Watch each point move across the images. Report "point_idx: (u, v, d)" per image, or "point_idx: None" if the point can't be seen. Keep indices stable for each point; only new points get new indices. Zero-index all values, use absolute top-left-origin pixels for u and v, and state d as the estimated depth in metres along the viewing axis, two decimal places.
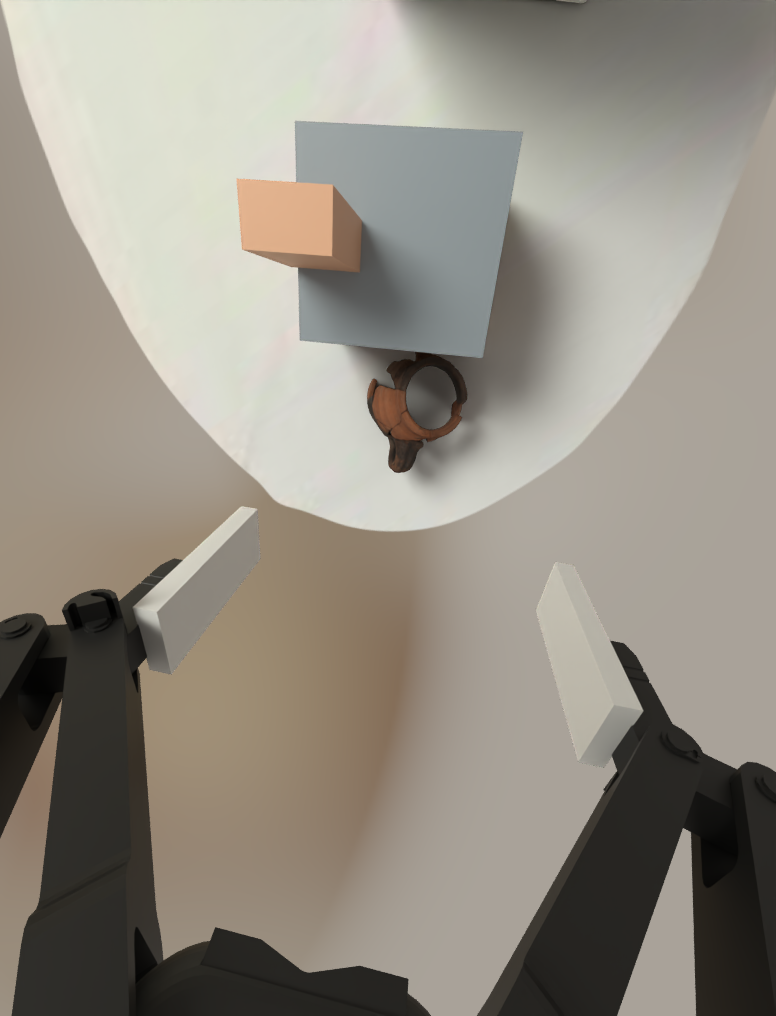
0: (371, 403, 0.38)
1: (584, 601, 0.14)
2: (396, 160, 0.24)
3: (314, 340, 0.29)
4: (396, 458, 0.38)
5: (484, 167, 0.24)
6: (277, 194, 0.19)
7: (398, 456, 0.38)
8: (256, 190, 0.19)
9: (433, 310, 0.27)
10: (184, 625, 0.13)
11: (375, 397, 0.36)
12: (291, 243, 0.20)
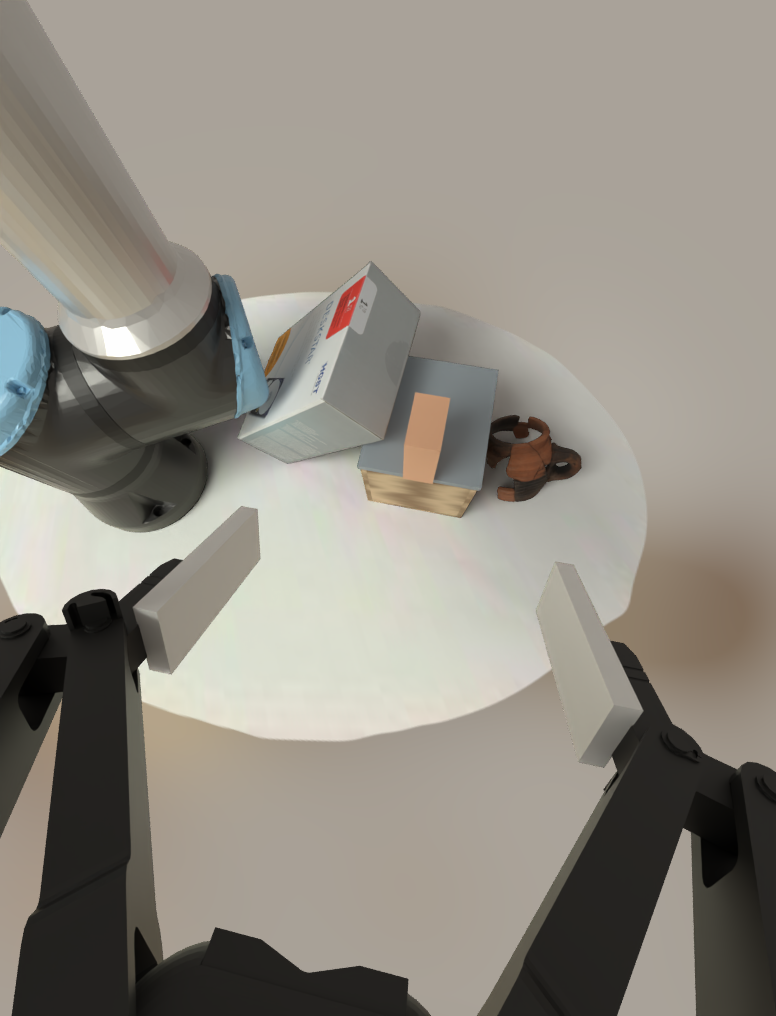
0: (519, 483, 0.45)
1: (584, 601, 0.14)
2: None
3: (482, 477, 0.38)
4: (568, 460, 0.44)
5: None
6: (415, 422, 0.31)
7: (567, 457, 0.44)
8: (411, 434, 0.31)
9: (467, 397, 0.41)
10: (184, 625, 0.13)
11: (515, 475, 0.44)
12: (440, 420, 0.31)
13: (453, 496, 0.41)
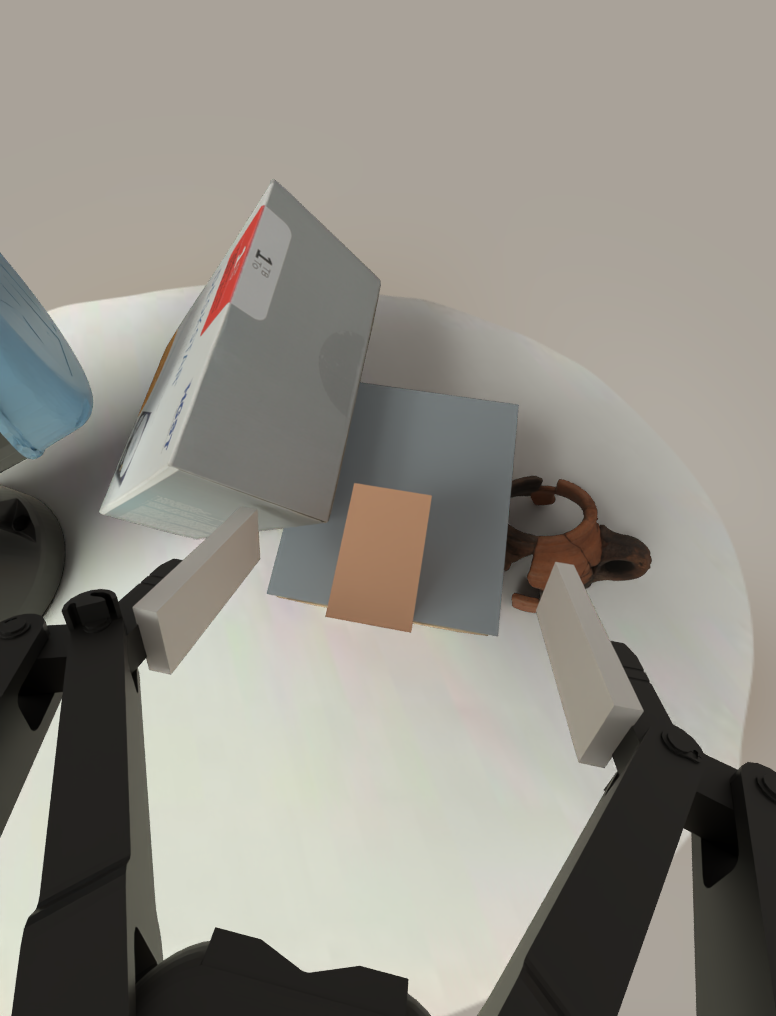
0: None
1: (584, 601, 0.14)
2: None
3: (498, 613, 0.20)
4: (631, 559, 0.26)
5: None
6: (352, 559, 0.14)
7: (629, 554, 0.26)
8: (343, 589, 0.13)
9: (466, 455, 0.23)
10: (184, 625, 0.13)
11: (543, 585, 0.27)
12: (410, 550, 0.14)
13: None
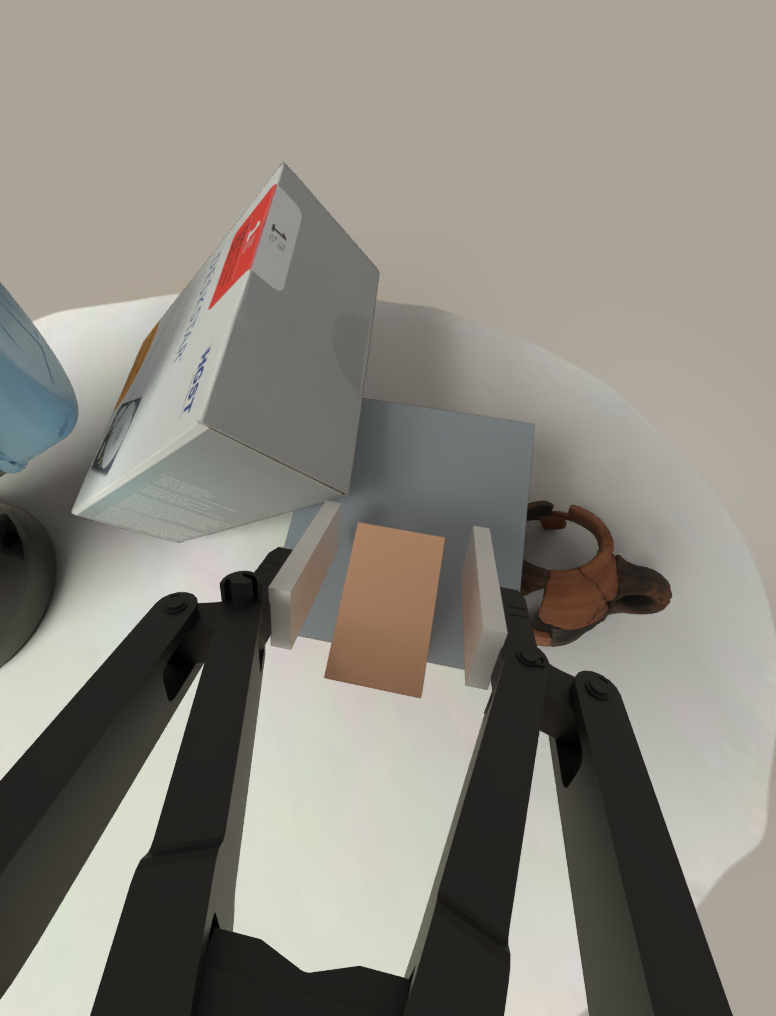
0: (562, 631, 0.25)
1: (488, 555, 0.16)
2: None
3: None
4: (650, 594, 0.24)
5: None
6: (355, 610, 0.12)
7: (647, 589, 0.24)
8: (344, 646, 0.12)
9: (478, 479, 0.21)
10: (300, 605, 0.14)
11: (556, 621, 0.25)
12: (421, 601, 0.12)
13: None
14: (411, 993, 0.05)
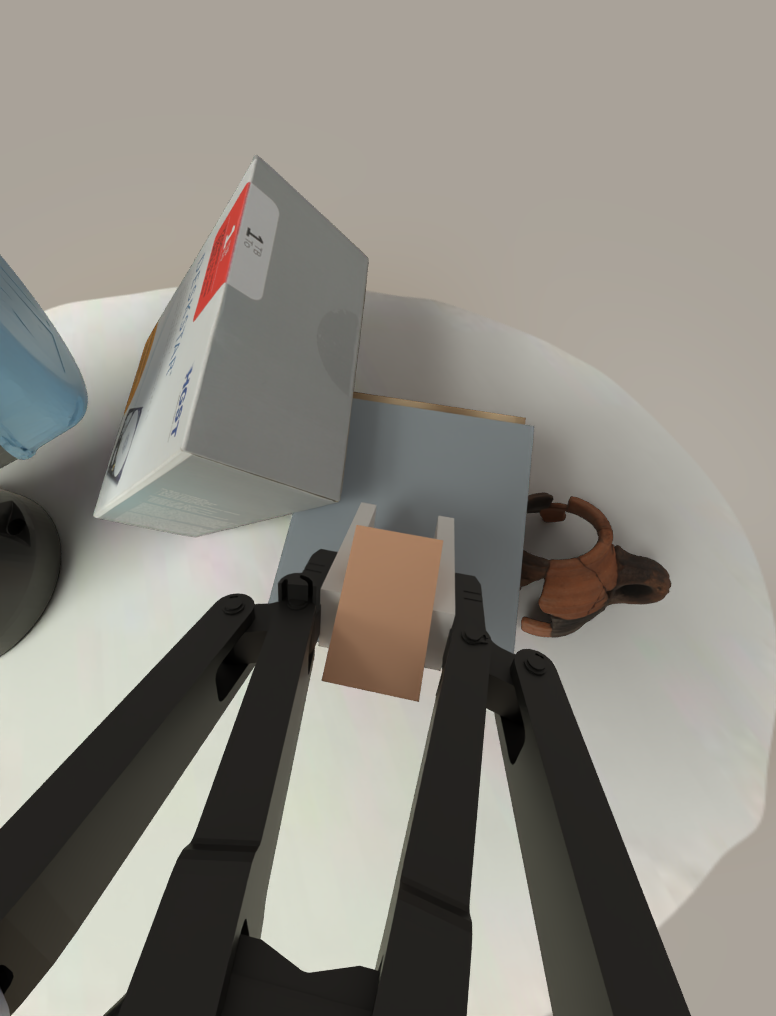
0: (562, 621, 0.26)
1: (448, 543, 0.16)
2: (322, 513, 0.21)
3: None
4: (649, 583, 0.24)
5: None
6: (353, 613, 0.12)
7: (647, 578, 0.24)
8: (342, 648, 0.12)
9: (477, 481, 0.21)
10: None
11: (556, 611, 0.25)
12: (418, 604, 0.12)
13: None
14: (379, 984, 0.05)
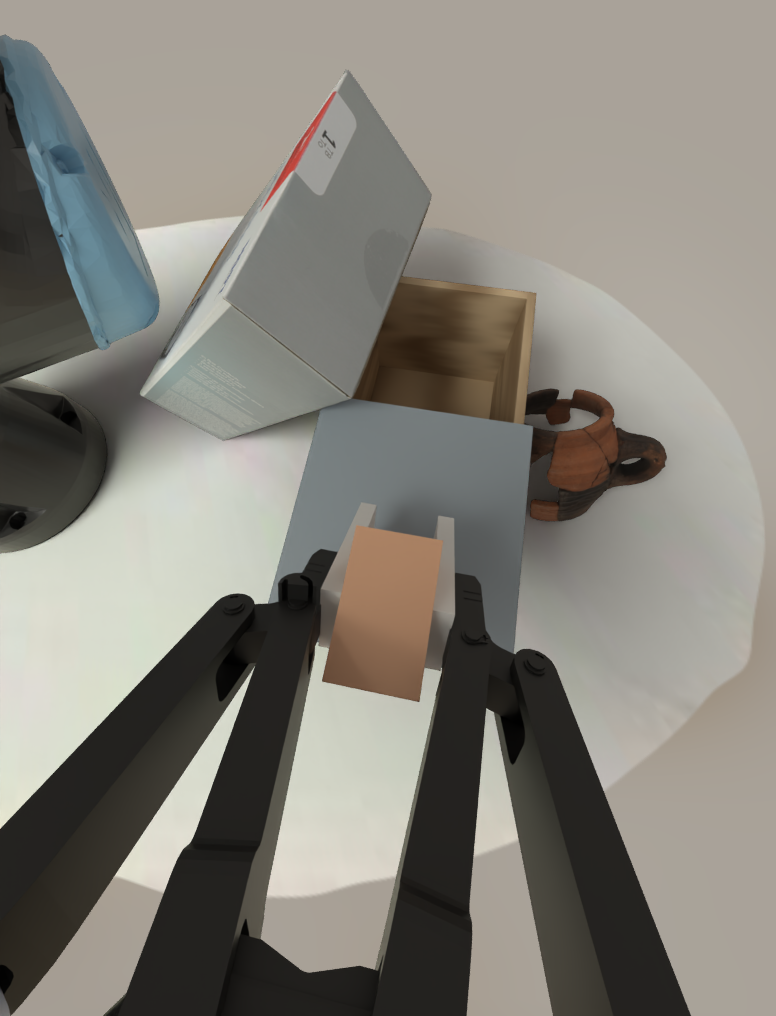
0: (569, 494, 0.28)
1: (448, 543, 0.16)
2: (322, 513, 0.21)
3: None
4: (647, 454, 0.27)
5: (345, 426, 0.23)
6: (353, 613, 0.12)
7: (645, 450, 0.27)
8: (343, 649, 0.12)
9: (476, 481, 0.21)
10: None
11: (563, 482, 0.28)
12: (419, 604, 0.12)
13: None
14: (379, 984, 0.05)
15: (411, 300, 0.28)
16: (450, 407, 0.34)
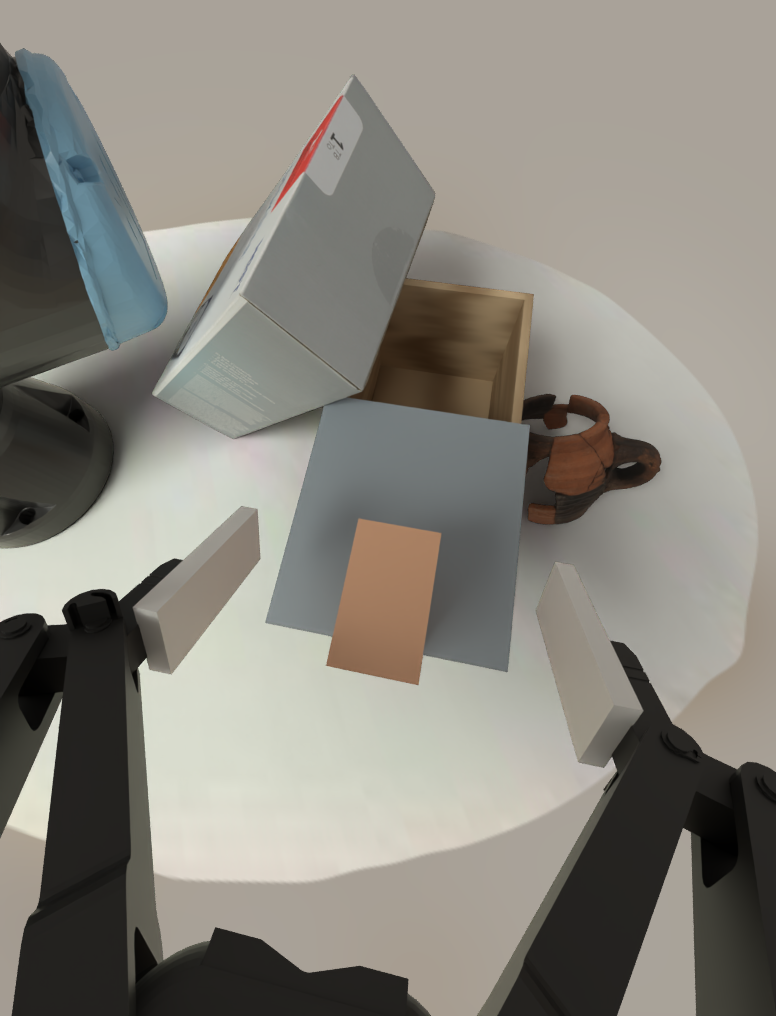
0: (565, 498, 0.29)
1: (584, 601, 0.14)
2: (324, 510, 0.22)
3: (507, 647, 0.19)
4: (642, 459, 0.28)
5: (346, 425, 0.23)
6: (356, 602, 0.13)
7: (640, 454, 0.28)
8: (345, 635, 0.12)
9: (474, 478, 0.22)
10: (184, 625, 0.13)
11: (559, 486, 0.28)
12: (418, 593, 0.13)
13: None
14: None
15: (412, 301, 0.29)
16: (450, 406, 0.35)
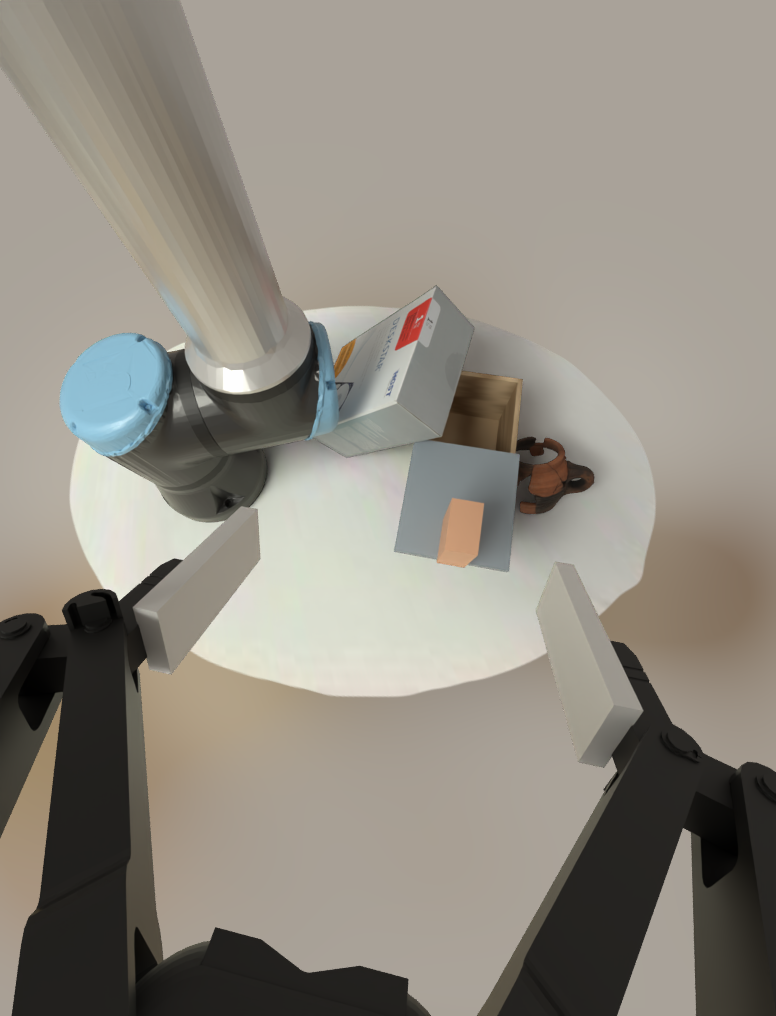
0: (540, 498, 0.51)
1: (584, 601, 0.14)
2: (418, 497, 0.44)
3: (509, 560, 0.41)
4: (583, 476, 0.50)
5: (426, 454, 0.45)
6: (453, 528, 0.35)
7: (581, 474, 0.50)
8: (450, 539, 0.35)
9: (492, 481, 0.44)
10: (184, 625, 0.13)
11: (537, 492, 0.50)
12: (476, 524, 0.35)
13: None
14: None
15: None
16: (473, 435, 0.57)
